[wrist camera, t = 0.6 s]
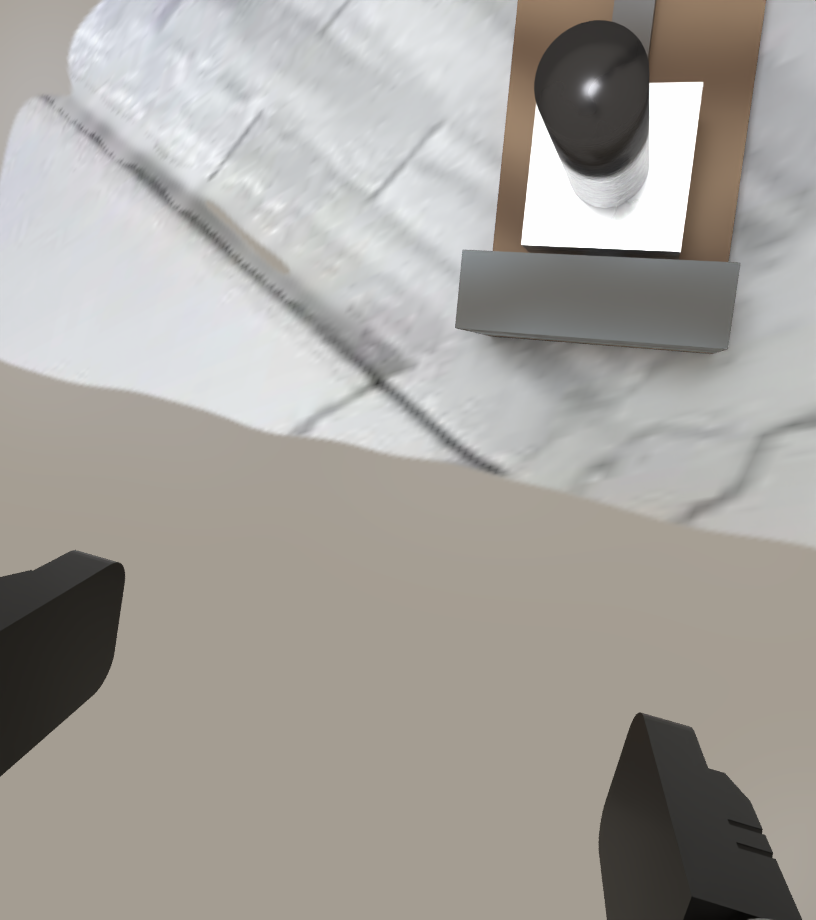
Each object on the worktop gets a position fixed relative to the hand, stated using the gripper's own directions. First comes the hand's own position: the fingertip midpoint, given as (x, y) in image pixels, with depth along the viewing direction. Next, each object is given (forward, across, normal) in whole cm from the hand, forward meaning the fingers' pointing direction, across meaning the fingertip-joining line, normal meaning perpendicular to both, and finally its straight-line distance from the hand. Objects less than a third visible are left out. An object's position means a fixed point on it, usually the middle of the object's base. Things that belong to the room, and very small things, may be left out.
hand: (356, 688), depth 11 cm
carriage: (+24, -3, -12) cm, 27 cm away
